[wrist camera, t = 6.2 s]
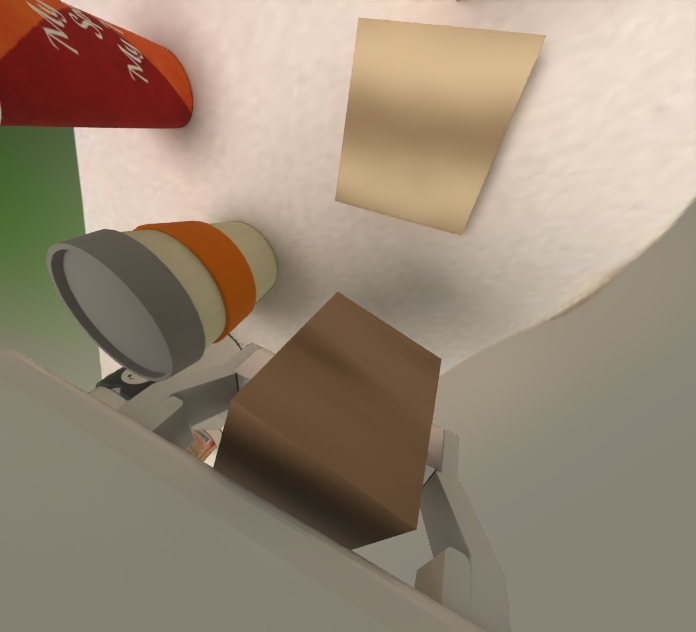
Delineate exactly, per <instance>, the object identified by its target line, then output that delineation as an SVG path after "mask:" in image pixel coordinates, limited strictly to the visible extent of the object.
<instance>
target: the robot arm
mask: <svg viewBox="0 0 696 632" xmlns="http://www.w3.org/2000/svg"><path fill="white" fill-rule="evenodd" d="M274 355H275V354H274V353H272V352H270V351H268V350H266V349H264V348H262V347H260V346H258V345H255V344H253V343H251V344H248V345H247V346H246V347H244V348H243V349H242V350H241V349H240V348H239V347H238V345H237V344H236V343H235V342H234V341H233V339H232V338H231V337H230V336H229V335H227V336H226V337H225V338H224V339H223V340H221V341H219V342H217V343H214V344H211V345H210V346H209V347H208V348H207V349H206V350H205V351H204V354H203V356H202V357H201V359H200V360H199V361H197V362H196V363H194V364H192V365H191V366H189V367H187V368H186V369H184V370H182V371H181V372H179V373H177V374H175V375H174V376H172V377H170V378H169V379H167V380H164V381H160V382H155V381H150V380H147V379H144V378H142V377H139V376H138V375H136V374H134V373H132V372H130V371H129V370H127V369H126V368H124V367H122V368H120V369H119V370H117V371H115V372H114V373H112V374H109V375H108V376H106V377H105V378H104V379H103V380H101V381H100V382H98V383H97V384H96V388H95V389H93V390H91V391H90V392H88V393H87V392H85V391H84V390H82V389H80V388H79V387H77V386H75V385H74V384H72V383H70V382H69V381H67V380H65V379H64V378H62V377H60V376H59V375H57V374H55V373H53V372H52V371H50V370H49V369H47V368H45V367H43V366H42V365H40V364H38V363H37V362H35V361H33V360H32V359H30V358H29V357H27V356H25V355H24V354H22V353H20V352H17V351H14V350H0V632H511V626H510V614H509V604H508V592H507V579H506V574H505V572H504V570H503V568H502V566H501V564H500V562H499V559H498V558H497V555H496V553H495V551H494V549H493V547H492V545H491V543H490V541H489V539H488V536H487V534H486V532H485V530H484V528H483V526H482V524H481V522H480V520H479V517H478V515H477V513H476V511H475V509H474V507H473V505H472V503H471V501H470V499H469V496H468V494H467V492H466V490H465V488H464V486H463V484H462V483H461V482H459V481H458V458H459V436H458V435H457V434H455V433H453V432H450V431H448V430H446V429H443V428H442V427H440V426H437V425H435V424H433V423H432V426H431V433H430V440H429V447H428V454H427V461H426V468H425V474H424V481H423V488H422V495H421V502H420V509H421V513H422V516H423V521H424V524H425V528H426V531H427V535H428V539H429V543H430V546H431V550H432V554H433V557H434V558H433V559H432V560H430V561H429V562H428V563H427V564H425V565H424V566H422V567H421V568H419V569H418V570H417V573H416V580H415V588H413V587H412V586H410V585H408V584H407V583H405V582H403V581H402V580H400V579H398V578H397V577H395V576H393V575H392V574H390V573H388V572H387V571H385V570H383V569H382V568H380V567H378V566H377V565H375V564H373V563H372V562H370V561H368V560H367V559H365V558H363V557H362V556H360V555H358V554H357V553H355V552H353V551H352V550H350V549H348V548H347V547H345V546H343V545H342V544H340V543H338V542H337V541H335V540H333V539H331V538H330V537H328V536H326V535H325V534H323V533H321V532H320V531H318V530H316V529H315V528H313V527H311V526H310V525H308V524H306V523H305V522H303V521H301V520H300V519H298V518H296V517H295V516H293V515H291V514H290V513H288V512H286V511H285V510H283V509H281V508H280V507H278V506H276V505H275V504H273V503H271V502H270V501H268V500H266V499H265V498H263V497H261V496H260V495H258V494H256V493H255V492H253V491H251V490H250V489H248V488H246V487H244V486H243V485H241V484H239V483H238V482H236V481H234V480H233V479H231V478H229V477H228V476H226V475H224V474H223V473H221V472H219V471H218V470H216V469H214V468H213V467H211V466H209V465H208V464H206V463H204V462H203V461H201V460H199V459H198V458H196V457H194V456H193V455H191V454H189V453H188V452H186V449H187V448H188V447H189V446H190V445H191V444H192V443H193V442H194V439H195V437H194V434H193V430H218V429H220V428H222V427H223V426H224V425H225V421H226V417H227V413H228V409H229V406H230V402H231V399H232V398H233V397H234V396H235V395H236V394H237V393H238V392H239V391H240V390H241V389H242V388H243V387H244V386H245V385H246V384H247V383H248V382H249V381H250V380H251V379H252V378H253V377H254V376H255V375H256V374H257V373H258V372H259V371H260V370H261V369H262V368H263V367H264V366H265V365H266V364H267V363H268V362H269V361H270V359H271V358H272V357H273V356H274Z"/></svg>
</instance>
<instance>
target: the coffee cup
mask: <svg viewBox="0 0 696 632" xmlns="http://www.w3.org/2000/svg"><path fill="white" fill-rule="evenodd" d="M192 109H193V99H192V91H191V87H190V83H189V80H188V77H187V75H186V73H185V70H184V68H183V67H182V65H181V63H180V62H179V60H178V59H177V58H176V57H175V56H174V55H173V54H172V53H171V52H170V51H169V50H167V49H166V48H164V47H162V46H160V45H158V44H156V43H154V42H151V41H149V40H147V39H145V38H143V37H141V36H138V35H136V34H134V33H132V32H129V31H127V30H125V29H123V28H120V27H118V26H116V25H114V24H111V23H109V22H107V21H104V20H102V19H100V18H98V17H95V16H93V15H91V14H88V13H86V12H84V11H82V10H79V9H77V8H75V7H72V6H70V5H68V4H66V3H63V2H61V1H59V0H0V126H45V127H94V128H181V127H183V126H185V125H186V124H187V123H188V122H189V120H190V118H191V114H192Z"/></svg>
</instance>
